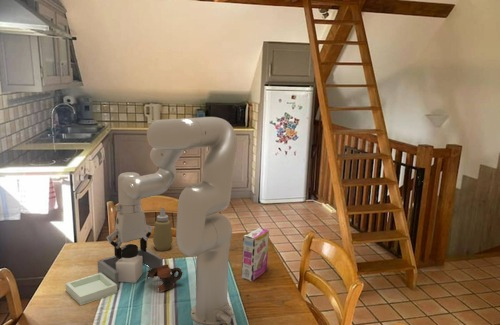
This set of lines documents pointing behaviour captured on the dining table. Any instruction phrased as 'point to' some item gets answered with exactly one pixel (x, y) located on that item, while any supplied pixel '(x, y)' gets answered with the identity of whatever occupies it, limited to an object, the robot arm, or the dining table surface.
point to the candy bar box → (255, 254)
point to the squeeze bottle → (162, 232)
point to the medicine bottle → (129, 264)
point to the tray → (91, 288)
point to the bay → (109, 264)
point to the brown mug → (165, 276)
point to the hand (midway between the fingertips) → (131, 253)
